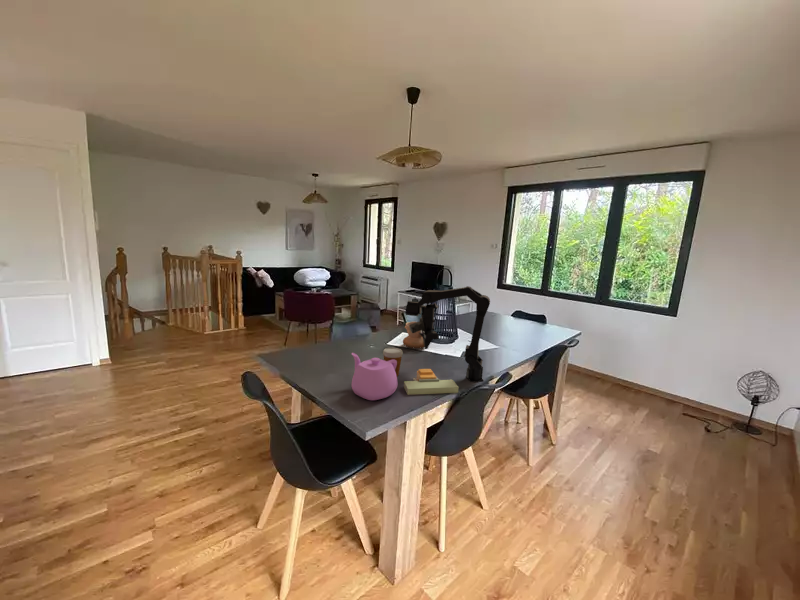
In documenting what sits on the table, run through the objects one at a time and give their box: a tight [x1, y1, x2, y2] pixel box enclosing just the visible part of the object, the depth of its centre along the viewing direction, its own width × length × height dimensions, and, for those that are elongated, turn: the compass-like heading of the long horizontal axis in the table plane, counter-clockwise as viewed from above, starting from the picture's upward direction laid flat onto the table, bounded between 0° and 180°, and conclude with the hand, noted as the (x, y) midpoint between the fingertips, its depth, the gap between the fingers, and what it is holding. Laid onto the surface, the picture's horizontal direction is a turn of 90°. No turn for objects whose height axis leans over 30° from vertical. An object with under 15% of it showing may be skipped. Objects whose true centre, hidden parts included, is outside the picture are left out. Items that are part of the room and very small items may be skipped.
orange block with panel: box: [416, 368, 437, 381], centre depth 162 cm, size 7×8×5 cm
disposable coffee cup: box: [382, 347, 404, 377], centre depth 169 cm, size 10×10×12 cm
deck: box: [403, 376, 460, 396], centre depth 157 cm, size 22×14×3 cm, turn 100°
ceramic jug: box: [402, 321, 425, 350], centre depth 213 cm, size 18×14×14 cm
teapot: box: [351, 352, 398, 401], centre depth 151 cm, size 23×21×15 cm
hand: (426, 348), depth 173 cm, fingers closed
